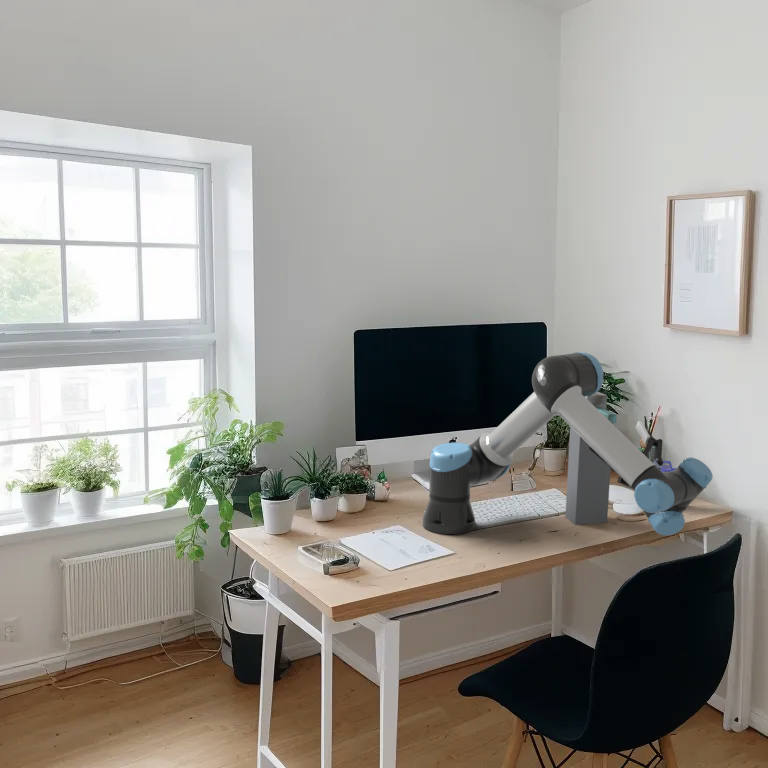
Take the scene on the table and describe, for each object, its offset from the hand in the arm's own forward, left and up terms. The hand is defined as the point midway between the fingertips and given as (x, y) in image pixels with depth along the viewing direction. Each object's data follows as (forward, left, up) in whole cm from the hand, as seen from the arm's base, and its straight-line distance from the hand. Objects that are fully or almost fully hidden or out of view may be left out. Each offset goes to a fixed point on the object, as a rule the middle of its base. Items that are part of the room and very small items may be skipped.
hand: (615, 424), depth 215 cm
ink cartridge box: (+30, +22, -32) cm, 49 cm away
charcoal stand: (0, +13, -32) cm, 34 cm away
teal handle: (0, +9, 0) cm, 9 cm away
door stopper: (+32, +46, -32) cm, 64 cm away
